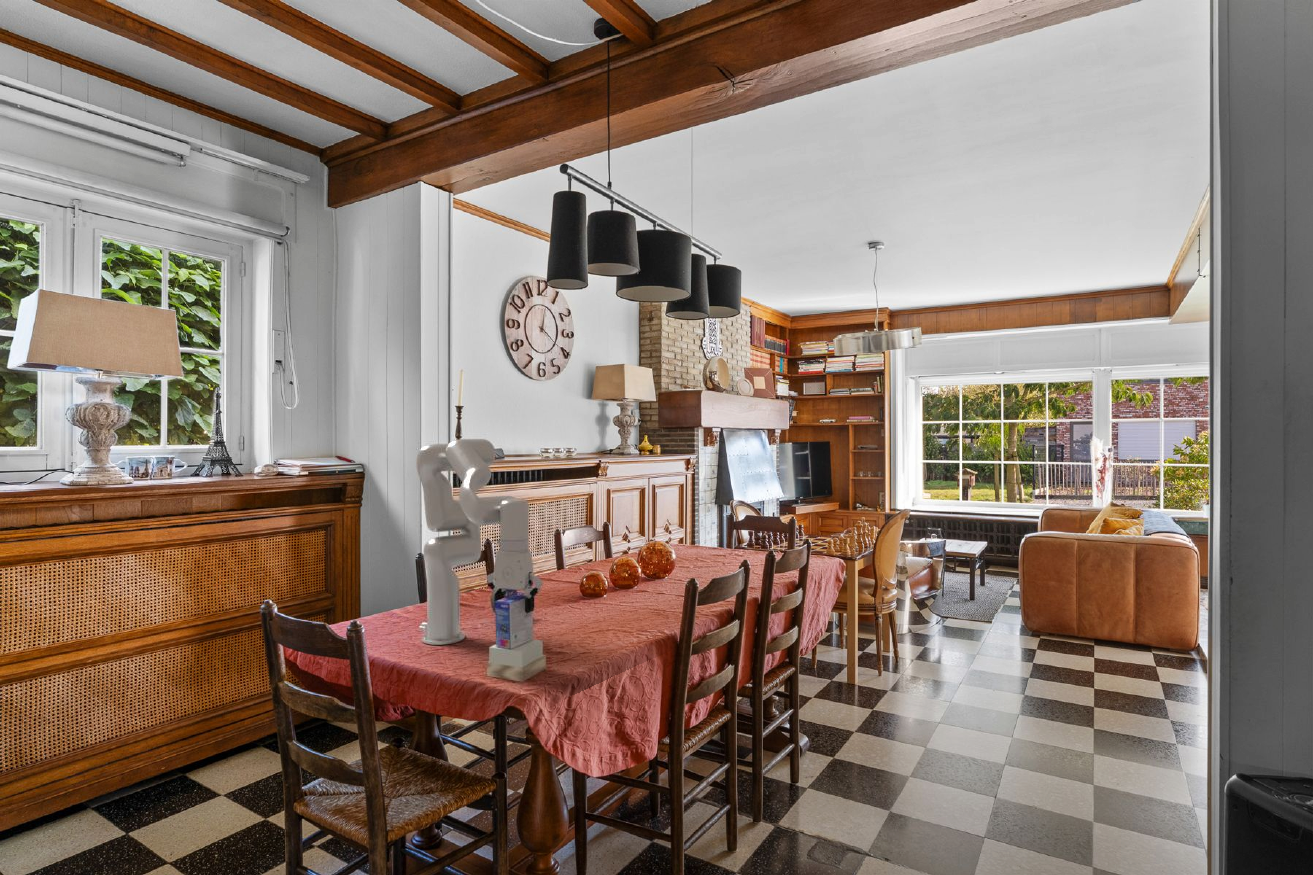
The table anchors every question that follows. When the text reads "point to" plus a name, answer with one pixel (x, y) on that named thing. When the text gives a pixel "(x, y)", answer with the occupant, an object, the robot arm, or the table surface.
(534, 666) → the tower bottom block
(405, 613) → the table surface
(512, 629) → the ink cartridge box
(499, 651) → the tower top block
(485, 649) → the table surface
